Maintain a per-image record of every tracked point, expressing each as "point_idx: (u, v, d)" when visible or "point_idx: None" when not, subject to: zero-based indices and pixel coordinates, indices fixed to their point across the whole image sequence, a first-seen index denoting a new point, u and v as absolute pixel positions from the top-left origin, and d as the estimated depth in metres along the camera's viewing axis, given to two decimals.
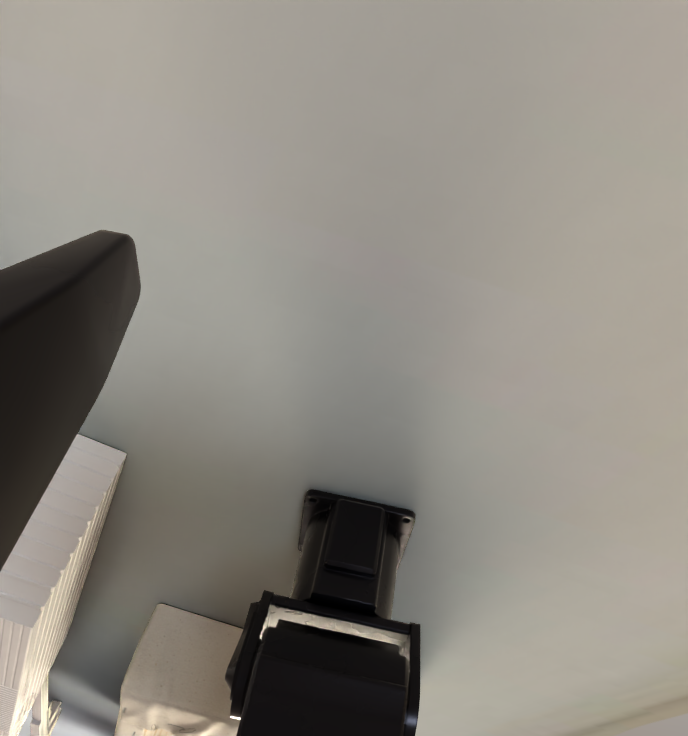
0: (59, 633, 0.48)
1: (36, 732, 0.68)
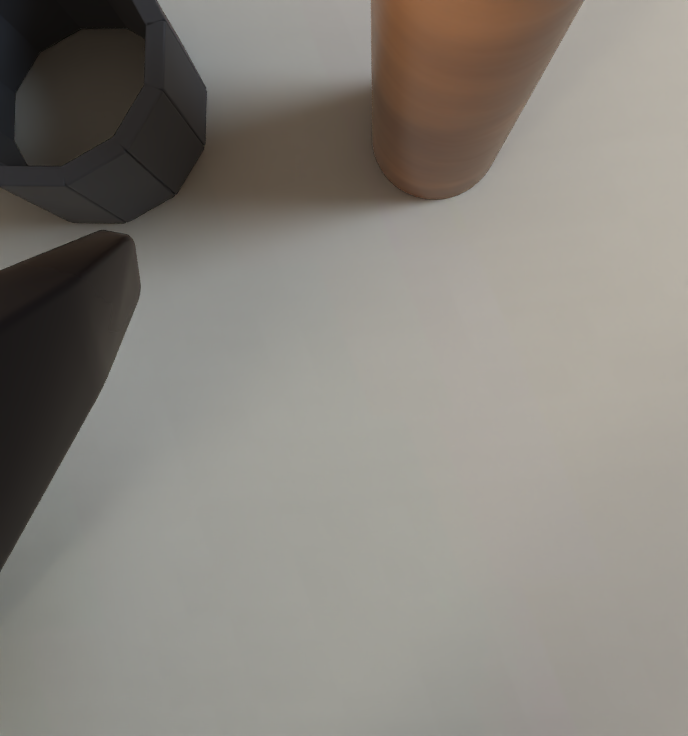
0: None
1: None
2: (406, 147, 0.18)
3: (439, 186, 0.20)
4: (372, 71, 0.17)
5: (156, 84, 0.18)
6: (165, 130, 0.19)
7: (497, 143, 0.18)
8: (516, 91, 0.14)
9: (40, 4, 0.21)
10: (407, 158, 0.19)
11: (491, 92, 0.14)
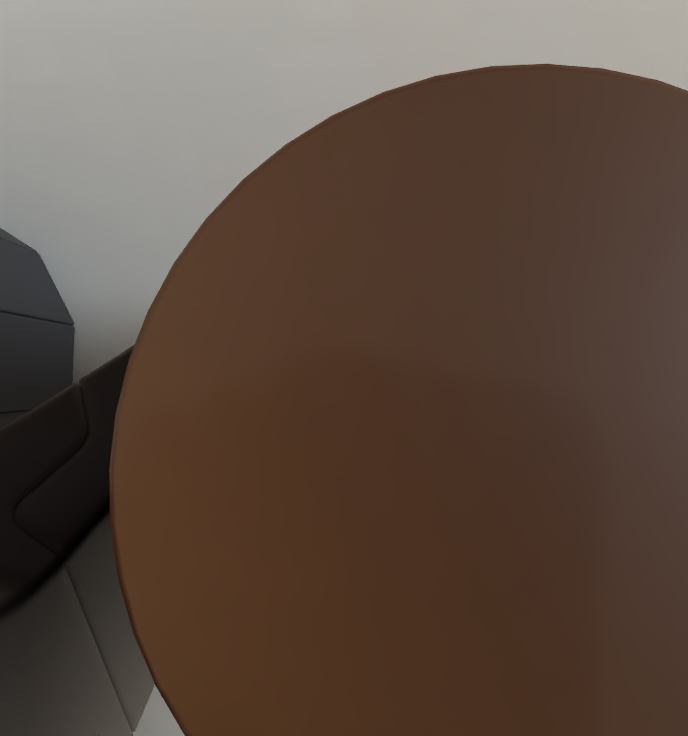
0: None
1: None
2: None
3: None
4: None
5: None
6: None
7: None
8: None
9: None
10: None
11: None
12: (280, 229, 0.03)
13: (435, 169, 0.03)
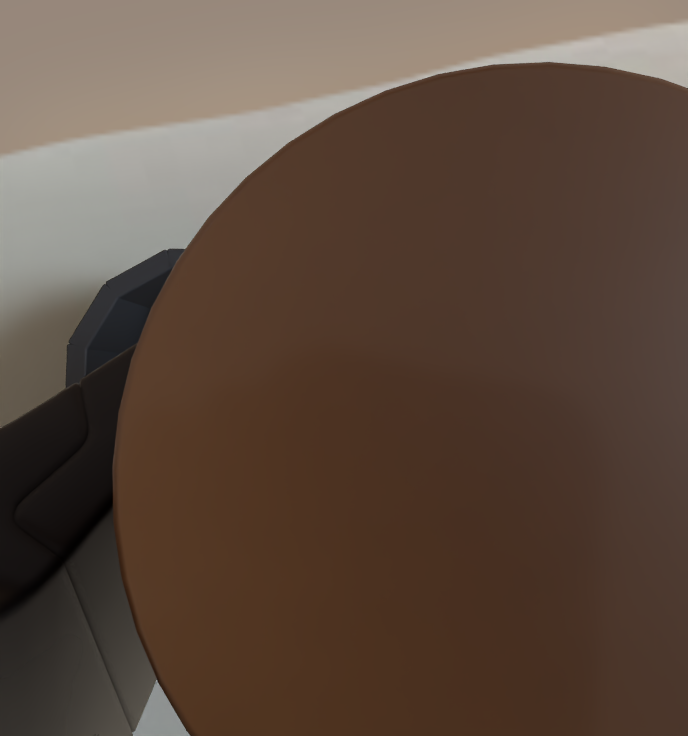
0: None
1: None
2: None
3: None
4: None
5: None
6: None
7: None
8: None
9: None
10: None
11: None
12: (283, 227, 0.03)
13: (437, 166, 0.03)
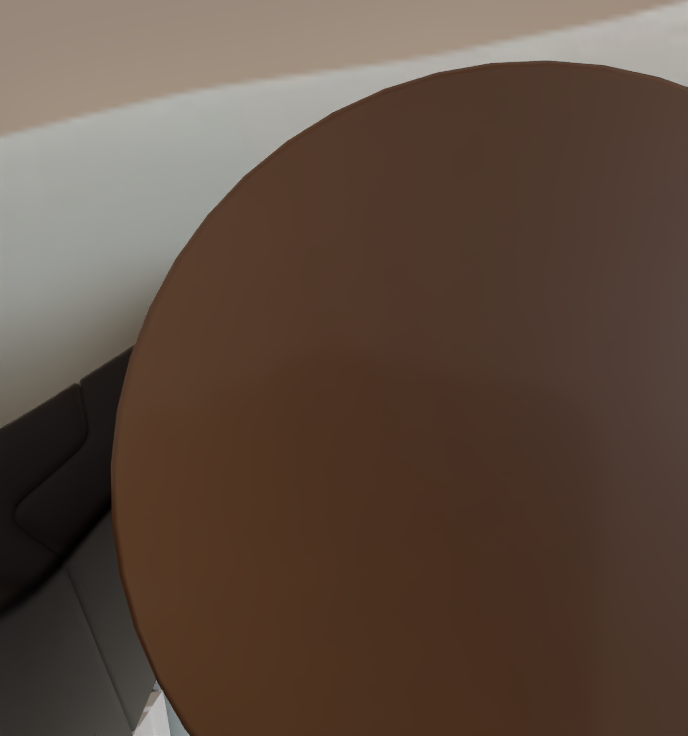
0: None
1: None
2: None
3: None
4: None
5: None
6: None
7: None
8: None
9: None
10: None
11: None
12: (281, 225, 0.03)
13: (435, 165, 0.03)
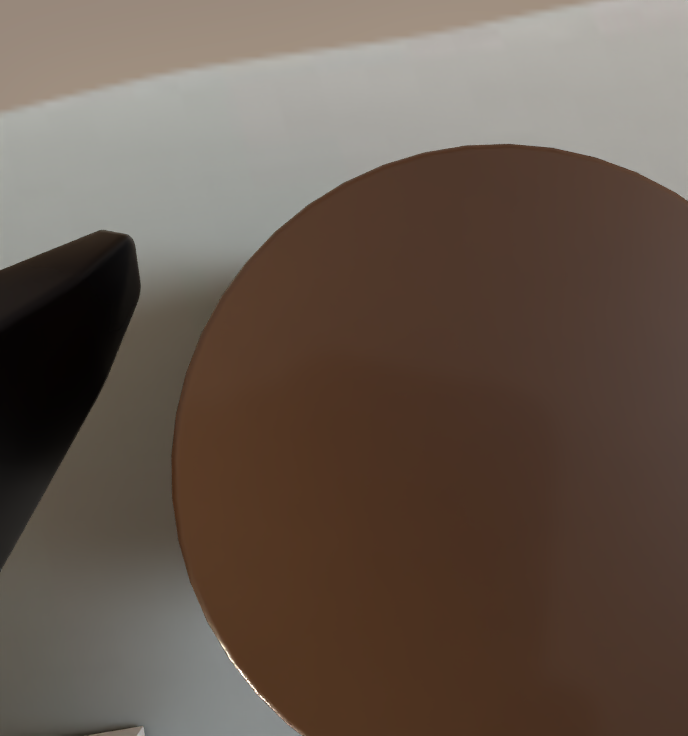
0: None
1: None
2: None
3: None
4: None
5: None
6: None
7: None
8: None
9: None
10: None
11: None
12: (304, 271, 0.04)
13: (423, 225, 0.04)
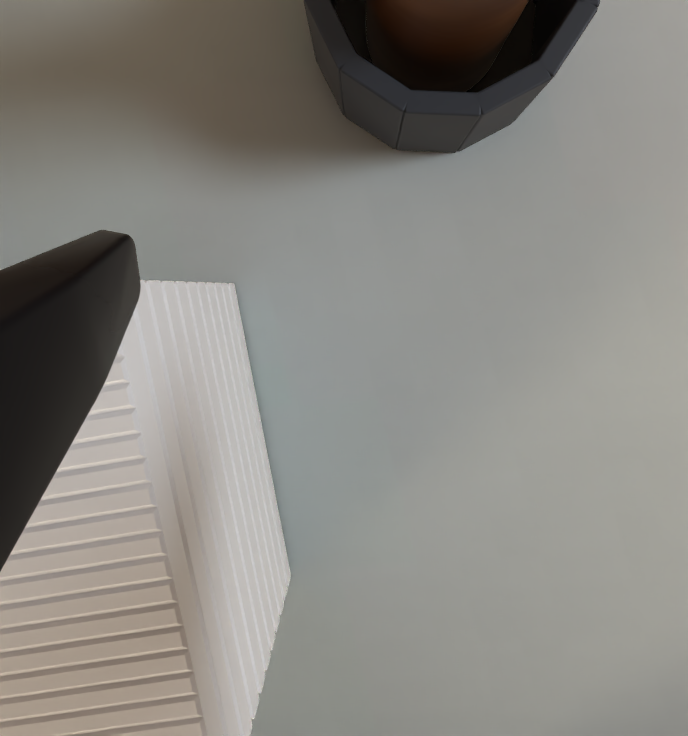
0: None
1: None
2: (401, 39, 0.17)
3: (435, 85, 0.19)
4: None
5: None
6: None
7: (500, 38, 0.17)
8: None
9: None
10: (402, 52, 0.17)
11: None
12: None
13: None
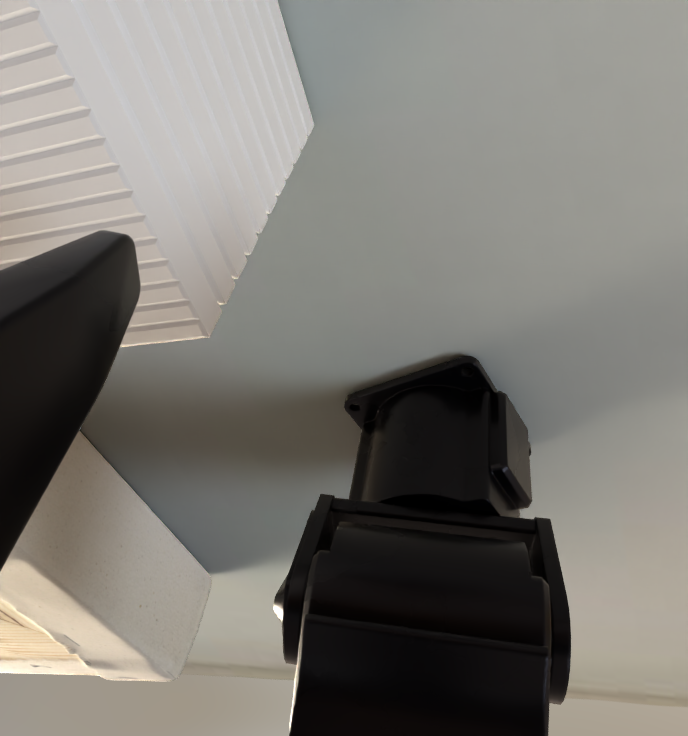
0: None
1: None
2: None
3: None
4: None
5: None
6: None
7: None
8: None
9: None
10: None
11: None
12: None
13: None
